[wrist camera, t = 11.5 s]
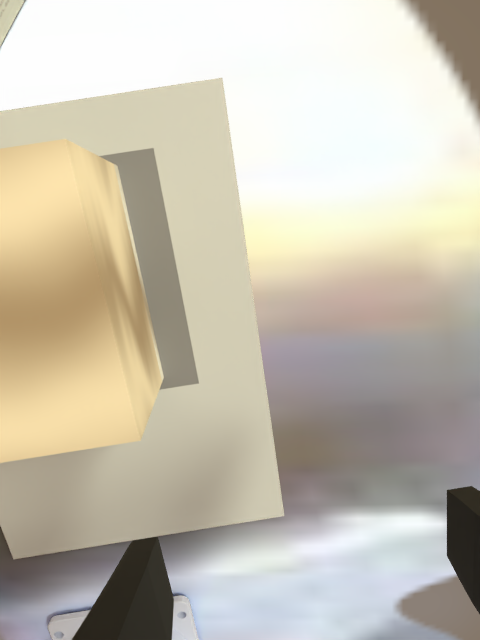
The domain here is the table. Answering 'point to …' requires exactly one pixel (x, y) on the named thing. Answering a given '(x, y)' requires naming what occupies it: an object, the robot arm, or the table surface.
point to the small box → (8, 15)
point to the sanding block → (70, 306)
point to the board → (162, 336)
